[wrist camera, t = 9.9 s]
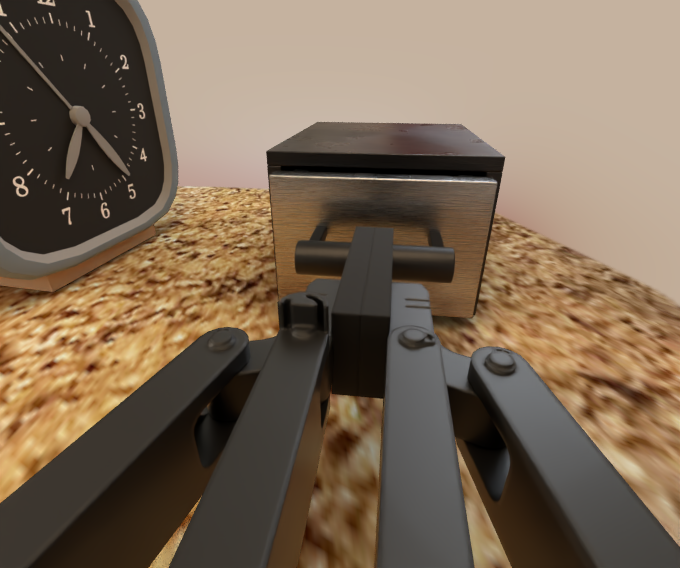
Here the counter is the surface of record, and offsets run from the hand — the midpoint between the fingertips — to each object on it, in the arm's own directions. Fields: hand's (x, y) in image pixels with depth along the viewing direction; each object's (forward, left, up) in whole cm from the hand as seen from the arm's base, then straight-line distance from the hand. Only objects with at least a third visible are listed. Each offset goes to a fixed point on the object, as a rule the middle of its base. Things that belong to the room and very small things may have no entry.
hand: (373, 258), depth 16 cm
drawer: (+4, -10, -6) cm, 12 cm away
